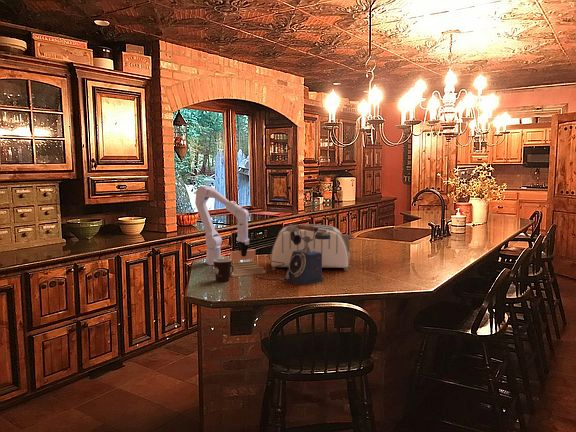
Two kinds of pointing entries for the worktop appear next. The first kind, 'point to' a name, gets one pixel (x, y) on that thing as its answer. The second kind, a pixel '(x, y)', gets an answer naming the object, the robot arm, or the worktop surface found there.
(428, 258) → the worktop surface
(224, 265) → the coffee mug
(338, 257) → the toaster
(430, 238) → the worktop surface
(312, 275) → the rotary telephone
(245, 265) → the drying rack
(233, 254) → the clay strip
